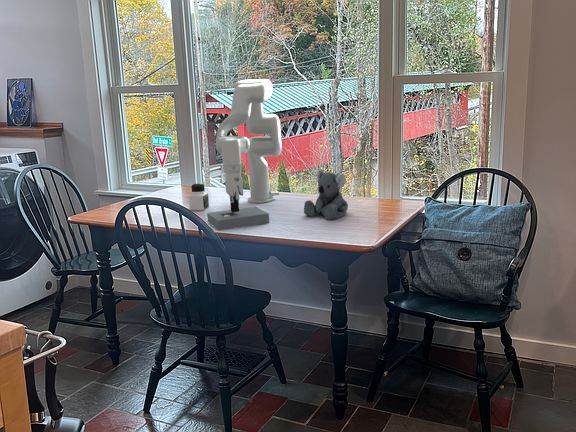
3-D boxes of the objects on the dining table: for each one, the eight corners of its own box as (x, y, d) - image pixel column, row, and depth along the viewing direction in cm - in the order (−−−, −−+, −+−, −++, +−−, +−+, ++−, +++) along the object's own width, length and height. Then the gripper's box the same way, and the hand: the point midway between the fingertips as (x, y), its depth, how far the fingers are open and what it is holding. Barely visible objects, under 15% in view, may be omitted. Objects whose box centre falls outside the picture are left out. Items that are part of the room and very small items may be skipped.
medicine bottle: (204, 210, 268) (202, 185, 265) (189, 210, 270) (187, 185, 267) (209, 207, 275) (207, 182, 272) (195, 207, 277) (193, 182, 274)
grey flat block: (255, 215, 254) (255, 206, 253) (269, 222, 240) (268, 213, 239) (207, 222, 246) (207, 212, 245) (218, 230, 232) (218, 220, 231)
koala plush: (301, 216, 249) (299, 171, 245) (327, 208, 262) (325, 165, 257) (332, 221, 238) (331, 175, 233) (357, 213, 250) (357, 168, 246)
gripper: (246, 169, 232) (249, 213, 236) (235, 165, 245) (237, 207, 249) (229, 171, 229) (232, 216, 233) (218, 167, 242) (221, 209, 247)
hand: (235, 211), depth 241 cm, fingers closed
